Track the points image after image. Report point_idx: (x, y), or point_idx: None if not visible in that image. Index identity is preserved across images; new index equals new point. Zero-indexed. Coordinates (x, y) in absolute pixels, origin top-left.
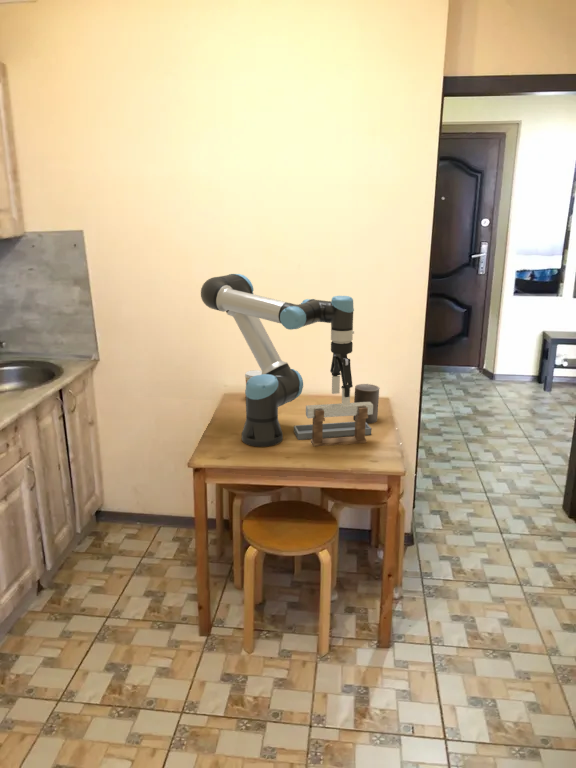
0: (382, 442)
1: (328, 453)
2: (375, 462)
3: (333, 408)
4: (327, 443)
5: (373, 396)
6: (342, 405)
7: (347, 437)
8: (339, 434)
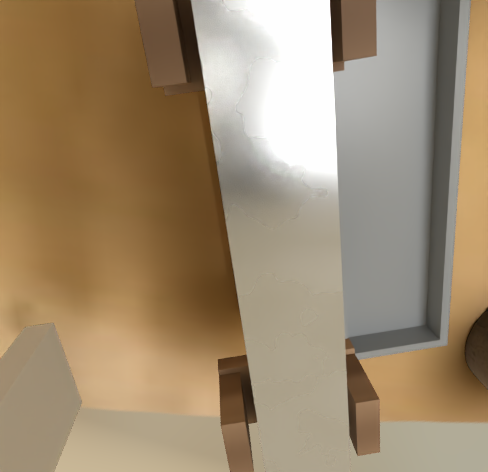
0: None
1: (93, 107)
2: (6, 322)
3: (223, 205)
4: (208, 114)
5: None
6: (22, 331)
7: None
8: None
